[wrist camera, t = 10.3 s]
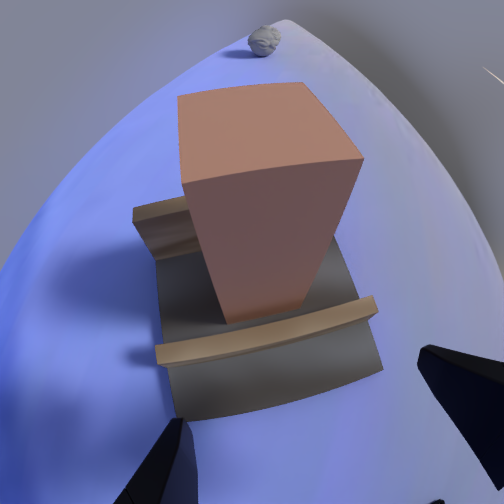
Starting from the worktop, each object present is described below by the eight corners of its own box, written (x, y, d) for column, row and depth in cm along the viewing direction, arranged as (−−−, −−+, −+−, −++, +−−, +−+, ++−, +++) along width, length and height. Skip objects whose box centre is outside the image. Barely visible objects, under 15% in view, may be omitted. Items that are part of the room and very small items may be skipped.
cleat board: (377, 371, 17) (422, 357, 11) (181, 421, 15) (150, 431, 10) (321, 221, 23) (337, 171, 18) (158, 253, 22) (133, 207, 16)
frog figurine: (286, 56, 44) (288, 27, 38) (260, 62, 42) (260, 30, 36) (266, 49, 46) (267, 22, 40) (240, 55, 44) (240, 26, 38)
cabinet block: (299, 308, 18) (364, 158, 7) (227, 324, 18) (181, 183, 6) (277, 237, 21) (296, 75, 10) (213, 250, 20) (177, 88, 9)
